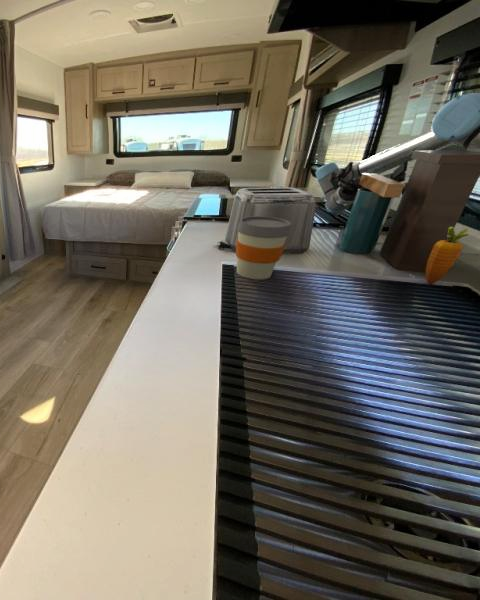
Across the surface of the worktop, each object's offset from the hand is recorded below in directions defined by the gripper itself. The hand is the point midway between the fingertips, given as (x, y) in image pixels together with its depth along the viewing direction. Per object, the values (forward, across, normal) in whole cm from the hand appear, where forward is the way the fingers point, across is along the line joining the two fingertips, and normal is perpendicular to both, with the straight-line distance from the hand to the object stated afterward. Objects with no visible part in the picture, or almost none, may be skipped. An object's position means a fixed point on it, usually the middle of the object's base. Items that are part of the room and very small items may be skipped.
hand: (377, 166), depth 102 cm
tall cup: (-7, 0, -25) cm, 26 cm away
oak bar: (+2, 0, -9) cm, 9 cm away
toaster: (-2, +28, -28) cm, 40 cm away
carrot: (+15, -10, -38) cm, 42 cm away
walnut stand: (0, -10, -30) cm, 31 cm away
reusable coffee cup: (+20, +31, -41) cm, 55 cm away
